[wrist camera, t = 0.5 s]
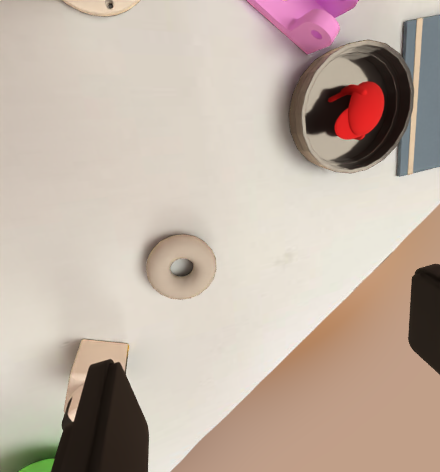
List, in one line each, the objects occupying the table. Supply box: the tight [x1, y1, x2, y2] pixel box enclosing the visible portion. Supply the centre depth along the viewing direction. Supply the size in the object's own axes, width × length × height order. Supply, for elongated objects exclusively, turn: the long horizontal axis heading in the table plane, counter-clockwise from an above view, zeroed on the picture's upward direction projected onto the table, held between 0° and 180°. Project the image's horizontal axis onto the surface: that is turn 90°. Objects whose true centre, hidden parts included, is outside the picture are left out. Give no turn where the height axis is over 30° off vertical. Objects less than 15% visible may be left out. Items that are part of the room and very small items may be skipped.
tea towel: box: [397, 15, 440, 177], centre depth 43 cm, size 20×9×1 cm, turn 11°
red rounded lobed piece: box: [328, 81, 384, 140], centre depth 38 cm, size 8×6×6 cm
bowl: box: [289, 40, 414, 173], centre depth 39 cm, size 15×15×4 cm
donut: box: [146, 234, 216, 300], centre depth 44 cm, size 10×4×10 cm
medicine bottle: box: [62, 339, 129, 431], centre depth 43 cm, size 7×7×12 cm
